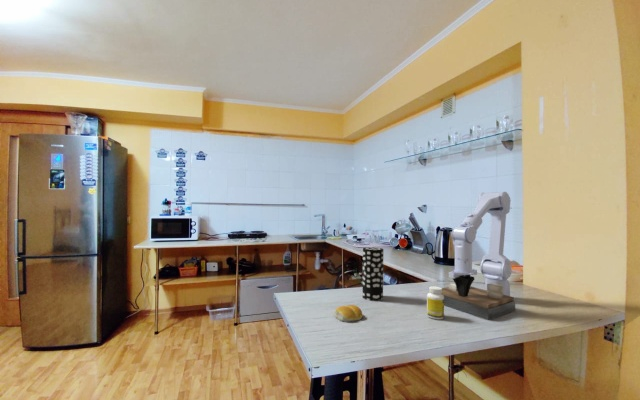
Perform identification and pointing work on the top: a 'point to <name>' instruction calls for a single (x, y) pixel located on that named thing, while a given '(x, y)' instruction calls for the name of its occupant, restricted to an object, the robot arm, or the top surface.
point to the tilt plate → (480, 295)
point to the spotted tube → (372, 274)
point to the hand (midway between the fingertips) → (463, 295)
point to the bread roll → (348, 313)
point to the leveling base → (479, 308)
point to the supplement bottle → (435, 303)
